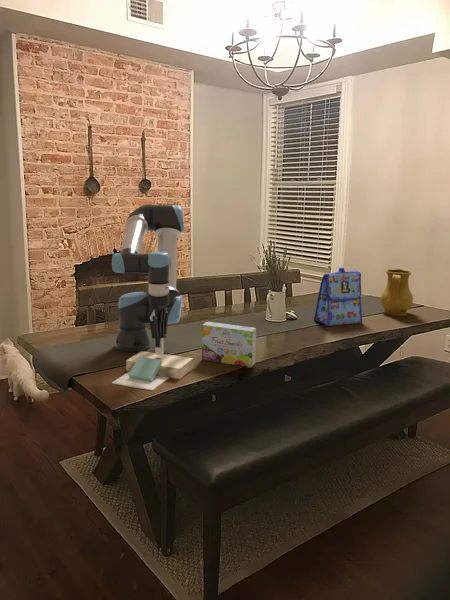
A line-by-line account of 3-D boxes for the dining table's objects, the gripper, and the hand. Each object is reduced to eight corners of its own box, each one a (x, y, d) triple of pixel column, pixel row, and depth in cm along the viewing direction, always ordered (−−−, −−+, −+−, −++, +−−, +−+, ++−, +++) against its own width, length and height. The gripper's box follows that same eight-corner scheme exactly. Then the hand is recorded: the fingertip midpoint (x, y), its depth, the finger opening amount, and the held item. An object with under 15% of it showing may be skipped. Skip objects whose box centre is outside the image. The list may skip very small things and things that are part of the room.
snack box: (200, 360, 202) (201, 324, 199) (206, 356, 207) (206, 320, 204) (251, 368, 195) (252, 330, 191) (255, 363, 200) (257, 326, 197)
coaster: (129, 378, 181) (128, 374, 180) (140, 360, 188) (139, 356, 187) (151, 381, 178) (150, 378, 177) (162, 363, 185) (161, 359, 184)
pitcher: (419, 314, 282) (421, 269, 276) (397, 320, 272) (399, 274, 266) (393, 308, 296) (394, 266, 290) (372, 314, 286) (373, 270, 280)
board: (126, 370, 190) (126, 360, 189) (142, 360, 201) (141, 350, 200) (179, 379, 182) (179, 368, 181) (193, 368, 193) (193, 358, 192)
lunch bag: (328, 327, 253) (331, 270, 247) (312, 320, 266) (316, 266, 259) (362, 323, 262) (367, 268, 256) (346, 316, 274) (350, 264, 268)
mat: (111, 383, 177) (111, 382, 177) (129, 372, 188) (129, 371, 188) (152, 390, 172) (152, 389, 172) (168, 378, 183) (168, 377, 183)
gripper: (159, 298, 180) (160, 361, 185) (175, 291, 192) (175, 350, 197) (141, 296, 182) (142, 358, 188) (158, 289, 194) (158, 348, 200)
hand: (159, 354), depth 192 cm, fingers closed
